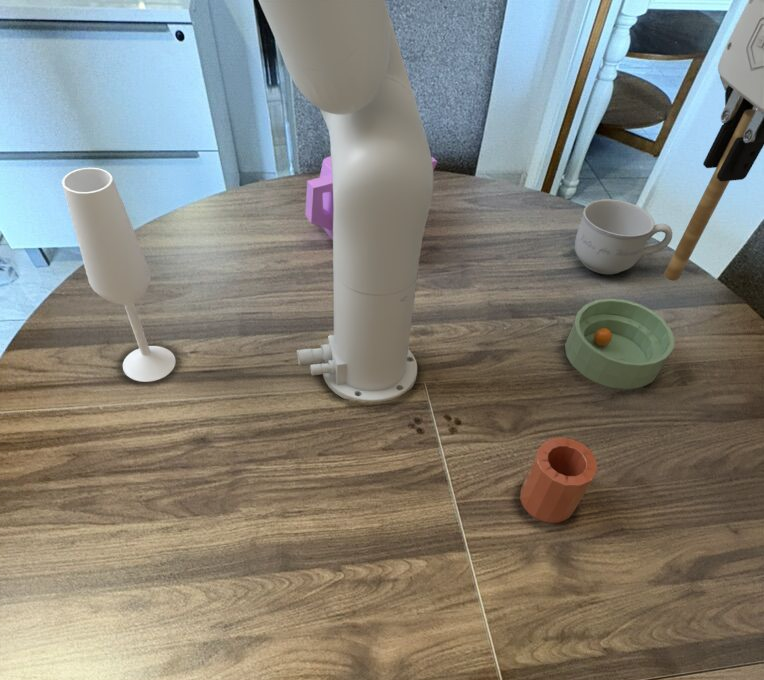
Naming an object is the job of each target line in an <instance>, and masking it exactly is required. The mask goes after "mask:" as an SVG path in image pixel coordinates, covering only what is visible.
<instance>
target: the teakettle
mask: <svg viewBox="0 0 764 680" xmlns="http://www.w3.org/2000/svg"><path fill="white" fill-rule="evenodd" d="M431 159H432V166H433V171H434V170H435V168H436V166H437V164H438V160H437V159H436V158H434V157H433V156H431ZM333 212H334V206H333V175H332V161H331V155H328V156H327V157H325V158H324V159H323V160H322V162H321V170H320V173H319V177H316V178H312V179H308V180H306V197H305V214H304V215H305V217H306V218H307V220H308V221H309V223H310V224H311V225H315V226H318V227H321V228H323V230H324V232H325V233H326V234H327V235H328V237H329V238H330V239H331V241H332V242H333Z"/></svg>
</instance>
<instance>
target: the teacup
mask: <svg viewBox="0 0 764 680" xmlns="http://www.w3.org/2000/svg"><path fill="white" fill-rule="evenodd" d="M655 223H656V222H655V220H654V217H653V216H652V215H651V214H650V213H649V212H648V211H647V210H646V209H644V208H642V206H641V207H640V206H639V205H636V204H634V203H632V202H629V201H624V200H620V199H612V198H611V199H610V198H605V199H604V198H602V199H596V200H594V201H591V202H589V203H588V204H586V205H585V207H584V208H583V210H582V215H581V219H580V222H579V225H578V229H577V232H576V236H575V240H574V251H575V254H576V256H577V258H578V259H579V260H580V262H581V263H582V265H583V266H584V267H585V268H586V269H588V270H589V271H592V272H594V273H597V274H601V275H615V274H619V273H621V272H624V271H627V270H629V269H631V268H632V267H634V265H636V264H637V262H638V261H639V260H641V259H642V258H644V257H645V256H648V255H653V254H656V253H658V252H660V251H662V250H664V249H665V248H667V247H668V246H669V244H670V243H671V242H672V239H673V229H672V227H671V226H670V225H668V224H667V223H657V224H655ZM657 233H664V238H663V239H662V240H661V241H660V242H658V243H656V244H653V245H650V246H647V244H648V241H649V240H651V238H652V237H653V236H654V235H656V234H657Z"/></svg>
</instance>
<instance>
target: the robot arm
mask: <svg viewBox="0 0 764 680" xmlns="http://www.w3.org/2000/svg"><path fill="white" fill-rule="evenodd" d="M258 3H259V5H260V8H261V10H262V12H263V14H264V16H265V19H266V21H267V23H268V25H269V28H270V30H271V33H272V35H273V37H274V39H275V42H276V44H277V47H278V50H279V52H280V55H281V58H282V60H283V62H284V65H285V68H286V70H287V72H288V74H289V76H290V78H291V80H292V81H293V83H294V85H295V86H296V88H297V89H298V90H299V92H300V93H301V94H302V95H303V97H304V98H306V100H308V101H309V102H310V103H311V104H312V105H313V106H314V107H316V108H318V110H320V113H321V116H322V117H323V120H324V122H325V125H326V128H327V130H328V134H329V141H330V142H329V143H330V147H329V148H330V149H329V150H330V156H331V161H332V175H333V206H334V212H333V241H332V271H333V273H332V275H333V278H332V279H333V281H332V282H333V285H332V286H333V334H330V335H327V343H325V344H323V343H322V344H320V347H317V348H316V347H315V348H303V349H302V348H301V349H296V355H297V356H296V358H297V362H298V366H305V365H309V369H310V374H311V376H319V375H322V376H323V380H324V382H325V384H326V385H327V386H328V388H329V389H331V391H332V392H333V393H334V394H336V395H337V396H339V397H340V398H341V399H344V400H353V401H357V402H362V403H383V402H388V401H391V400H394V399H397V398H399V397H401V396H402V395H404V394H406V393H407V392H408V391H410V390H412V388H413V387H414V385H415V383H416V381H417V376H418V363H417V359H416V357H415V355H414V353H413V352H412V351H411V350H410V349H409V345H410V337H411V330H412V321H413V313H414V308H415V307H414V306H415V298H416V289H417V282H418V275H419V274H418V273H419V272H418V271H419V265H420V257H421V249H422V242H423V237H424V232H425V229H426V228H425V227H426V224H427V220H428V217H429V212H430V210H431V209H430V208H431V204H432V199H433V193H434V170H433V166H432V159H431V157H432V154H431V153H432V152H431V149H430V146H429V145H430V144H429V141H428V137H427V133H426V131H425V128H424V124H423V122H422V119H421V114H420V110H419V106H418V103H417V100H416V97H415V94H414V91H413V88H412V84H411V81H410V78H409V74H408V72H407V68H406V65H405V62H404V59H403V56H402V55H403V54H402V52H401V50H400V46H399V43H398V39H397V36H396V33H395V29H394V26H393V23H392V19H391V16H390V12H389V10H388V6H387V3H386V0H258ZM739 16H740V17H738V18H739V19H738V21H737V23H736V24H735V26H734V28H733V30H732V32H731V35H730V36H729V39H728V40H727V42H726V44H725V46H724V49H723V51H722V54H721V56H720V58H719V60H718V64H717V71H718V74H719V78H720V81H721V85H722V87H723V89H724V91H725V92H724V101H725V102H724V108H723V110H722V112H721V115H720V122H721V123H722V124H721V127H720V128H719V130H718V132H717V134H716V136H715V139H714V140H713V142H712V145H711V146H710V148H709V151H708V153H707V155H706V156H705V159H704V160H703V163H702V164H703V166H704V168H706V169H714V168H715V169H716V168H717V166H718V164H719V162H720V160H721V158H722V156H723V154H724V152H725V150H726V148H727V146H728V144H729V142H730V140H731V138H732V136H733V134H734V131H735V129H736V127H737V125H738V123H739V121H740V119H741V117H742V115H743V113H744V112H745V111H746V110H749V109H752V110H756V112H755V114H754V116H753V118H752V119H751V121H750V123H749V125H748V127H747V129H746V131H745V132H744V135H743V137H741V138H737V139H736V140H735V141H734V143H733V145H732V147H731V149H730V151H729V153H728V155H727V157H726V159H725V161H724V162H723V164H722V166H721V168H720V170H719V172H718V174H717V179H718V180H719V181H721V182H722V181H730V182H732V181H741V180H744V179H745V178H746V177H747V176H748V174H749V172H750V171H751V169H752V167H753V165H754V164H755V162H756V160H757V159H758V156H759V155H760V153H761V151H762V149H763V147H764V0H748V1H747V3H746V4H745V7H744V9H743V10H742V12H741V14H740V15H739ZM321 362H322V363H321Z"/></svg>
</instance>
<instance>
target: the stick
mask: <svg viewBox="0 0 764 680" xmlns="http://www.w3.org/2000/svg"><path fill="white" fill-rule="evenodd" d="M756 110H757V109H756ZM756 110H752V109H749V110H746V111H745V112H744V113H743V115H742V117H741V119H740V121H739V123H738V125H737V127H736V129H735V131H734V134H733V136H732V138H731V140H730V142H729V144H728V146H727V148H726V150H725V152H724V154H723V156H722V158H721V160H720V162H719V164H718V166H717V167H716V168H715V170H714V172H713V174H712V176H711V178H710V180H709V182H708V183H707V186H706V188H705V190H704V192H703V194H702V196H701V198H700V200H699V202H698V204H697V205H696V208H695V210H694V212H693V214H692V215H691V218H690V220H689V223H688V224H687V226H686V228H685V229H684V232H683V234H682V236H681V238H680V240H679V242H678V244H677V246H676V249H675V250H674V253H672V254H673V255H672V256H671V258H670V260H669V263H668V264H667V266H666V269H664V270H665V271H664V273H663V276H664V278H665V279H667V280H668V281H672V282H673V281H678V280H679V279H680V277H681V275H682V273H683V271H684V270H685V267H686V266H687V263H688V262H689V260H690V258H691V256H692V255H693V252H694V250H695V248H696V246H697V245H698V242H699V241H700V238H701V237H702V235H703V233H704V231H705V229H706V228H707V226H708V223H709V222H710V219H711V217H712V216H713V214H714V212H715V210H716V208H717V207H718V205H719V202H720V201H721V199H722V196H723V195H724V193H725V192H726V190H727V187H728V186H729V183H730V182H731V181H722V182H721V181H719V180H718V179H717V174H718V172H719V170H720V168H721V166H722V164H723V162H724V161H725V159H726V157H727V155H728V153H729V151H730V149H731V147H732V145H733V143H734V141H735V140H736V139H737V138H741V137H743V135H744V132H745V131H746V129H747V127H748V125H749V123H750V121H751V119H752V118H753V116H754V114H755V112H756Z"/></svg>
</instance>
